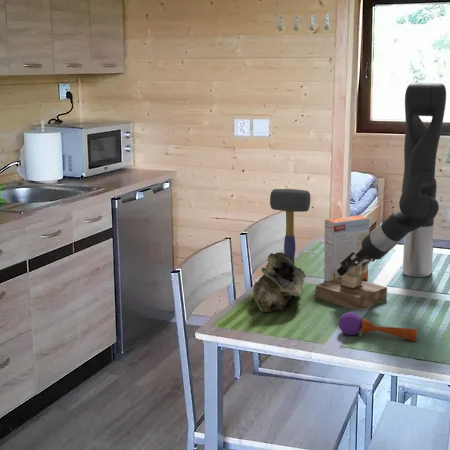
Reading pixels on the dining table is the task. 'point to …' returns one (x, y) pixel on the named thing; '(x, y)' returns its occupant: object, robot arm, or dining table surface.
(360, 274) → the beech leg
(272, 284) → the hollow geode rock
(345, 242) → the cracker box
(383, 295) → the seat board
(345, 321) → the kendama
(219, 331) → the dining table surface
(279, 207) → the rubber mallet
